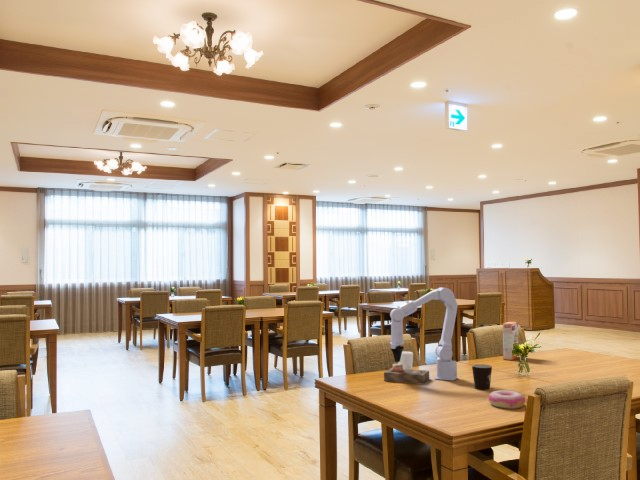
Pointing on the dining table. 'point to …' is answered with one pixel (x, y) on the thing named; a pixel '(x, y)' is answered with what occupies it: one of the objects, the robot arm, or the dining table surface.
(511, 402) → the donut
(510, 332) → the cracker box
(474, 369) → the coffee mug
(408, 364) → the white cup
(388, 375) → the housing
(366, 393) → the dining table surface
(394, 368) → the plunger
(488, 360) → the dining table surface
